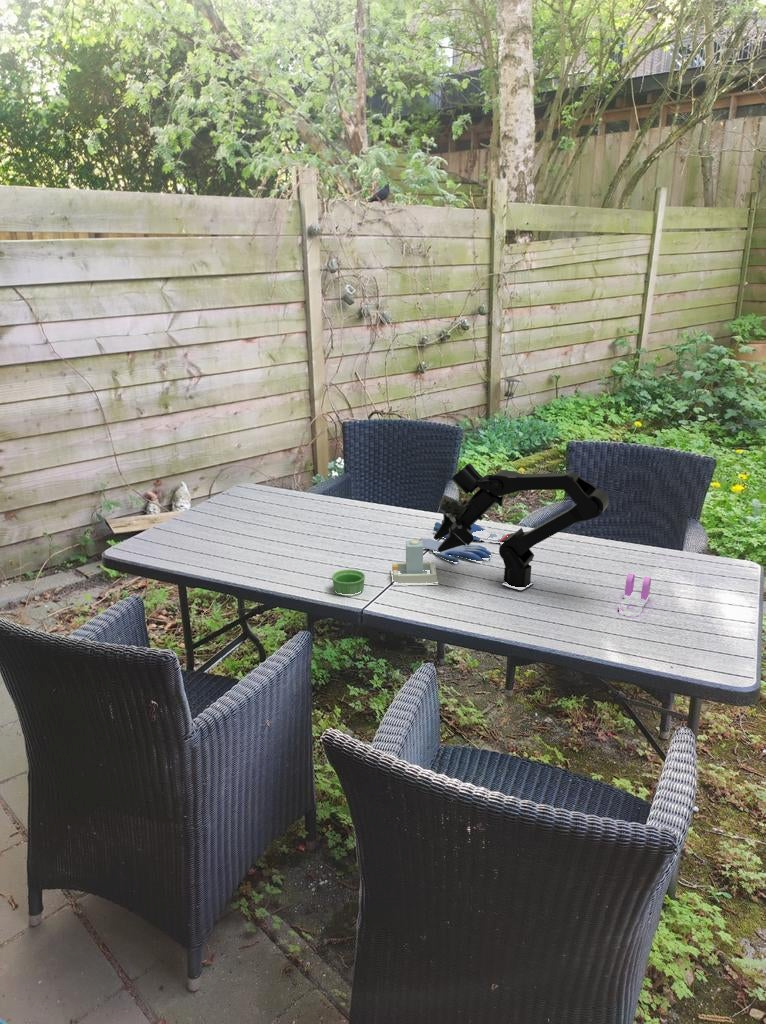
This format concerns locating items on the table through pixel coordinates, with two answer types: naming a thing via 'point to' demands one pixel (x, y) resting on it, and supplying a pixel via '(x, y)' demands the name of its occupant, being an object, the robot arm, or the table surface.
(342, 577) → the ramekin
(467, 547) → the pair of gloves
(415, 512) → the table surface
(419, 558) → the block
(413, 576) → the pocket tray
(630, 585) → the bracket
